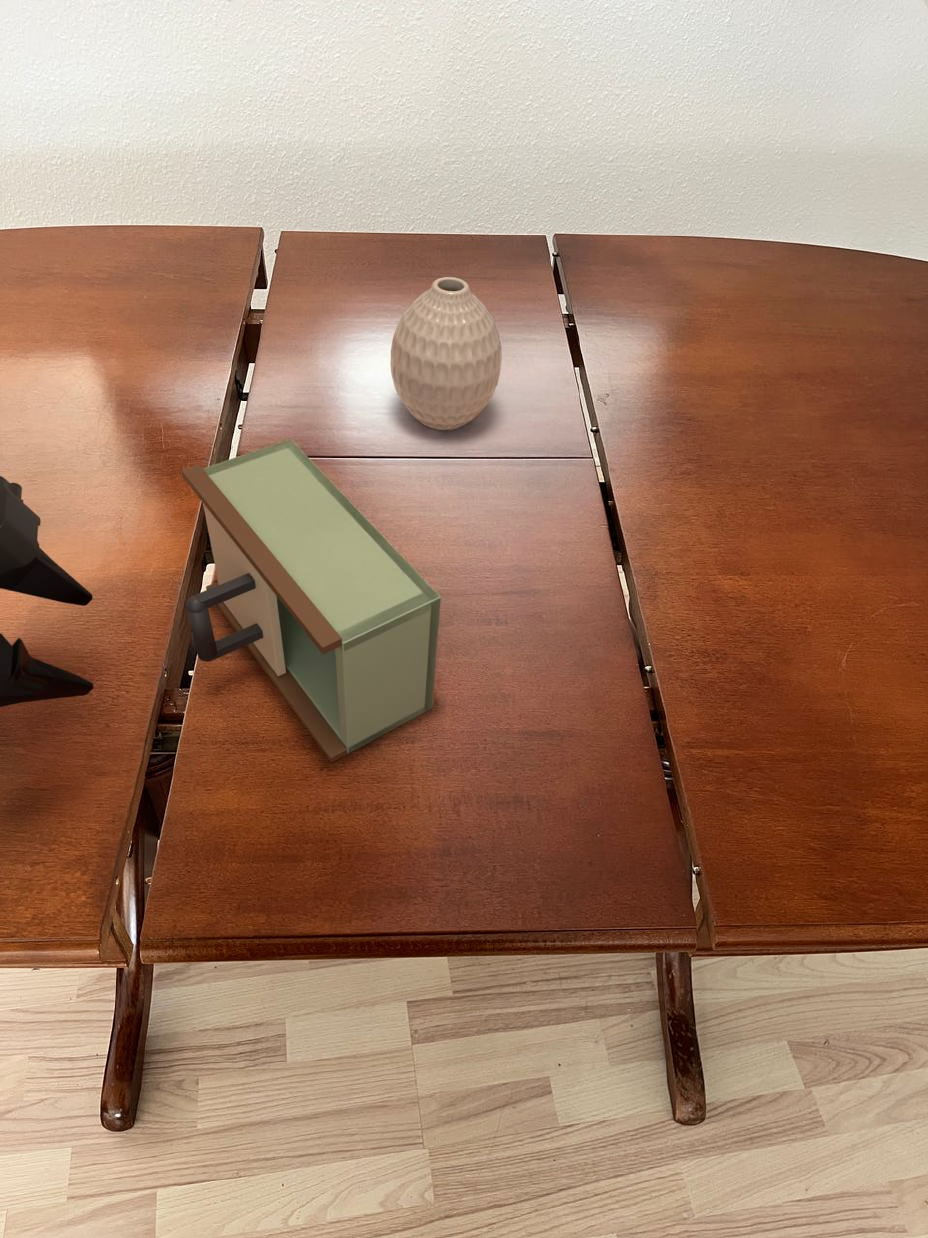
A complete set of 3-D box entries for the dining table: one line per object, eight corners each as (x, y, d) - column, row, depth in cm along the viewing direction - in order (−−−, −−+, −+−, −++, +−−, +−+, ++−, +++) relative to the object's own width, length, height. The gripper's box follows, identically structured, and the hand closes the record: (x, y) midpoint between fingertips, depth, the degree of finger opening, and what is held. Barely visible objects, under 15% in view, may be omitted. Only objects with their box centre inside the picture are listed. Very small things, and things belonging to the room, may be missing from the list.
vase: (486, 454, 100) (501, 322, 88) (378, 437, 101) (378, 303, 88) (501, 395, 109) (516, 266, 96) (402, 379, 109) (405, 250, 97)
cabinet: (330, 763, 70) (322, 647, 59) (206, 592, 82) (180, 469, 71) (432, 708, 75) (441, 591, 64) (301, 553, 87) (290, 432, 76)
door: (218, 705, 72) (194, 603, 63) (164, 623, 78) (135, 519, 68) (286, 672, 75) (273, 571, 66) (229, 596, 80) (210, 492, 71)
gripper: (-92, 582, 46) (161, 676, 57) (-56, 390, 58) (148, 498, 68) (-189, 698, 50) (65, 766, 60) (-137, 496, 62) (68, 583, 72)
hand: (90, 643), depth 65 cm, fingers open, 9 cm apart
